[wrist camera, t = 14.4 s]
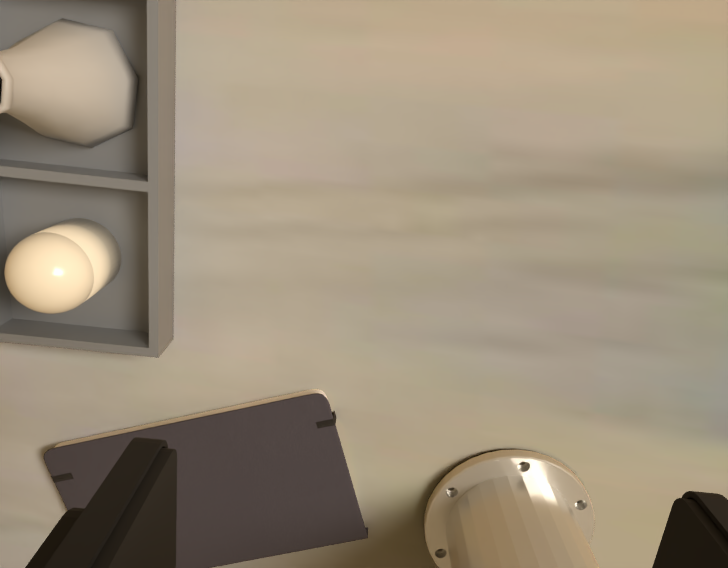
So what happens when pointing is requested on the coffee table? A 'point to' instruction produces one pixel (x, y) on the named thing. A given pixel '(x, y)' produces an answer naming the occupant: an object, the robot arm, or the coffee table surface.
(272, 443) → the notebook
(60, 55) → the flask
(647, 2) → the coffee table surface
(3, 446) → the coffee table surface
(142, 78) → the tray
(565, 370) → the coffee table surface
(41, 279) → the cream egg
